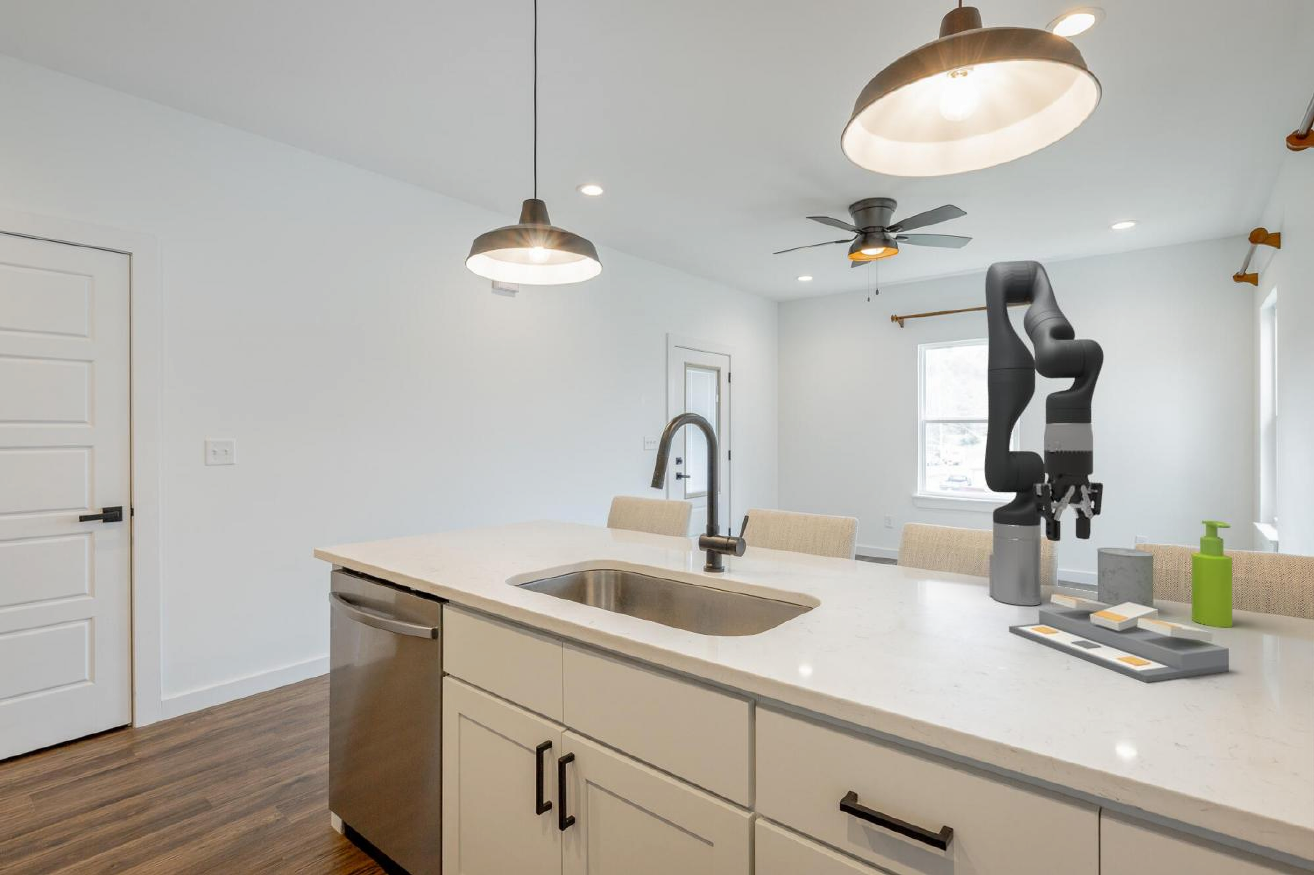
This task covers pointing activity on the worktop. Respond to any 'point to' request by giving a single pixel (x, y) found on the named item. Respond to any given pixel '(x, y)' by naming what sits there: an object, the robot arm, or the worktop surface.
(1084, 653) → the switch unit
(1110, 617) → the rocker middle
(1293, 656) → the worktop surface
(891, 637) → the worktop surface
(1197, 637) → the rocker right
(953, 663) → the worktop surface
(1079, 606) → the plate
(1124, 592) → the grey concrete cylinder
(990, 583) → the robot arm
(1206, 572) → the soap dispenser
